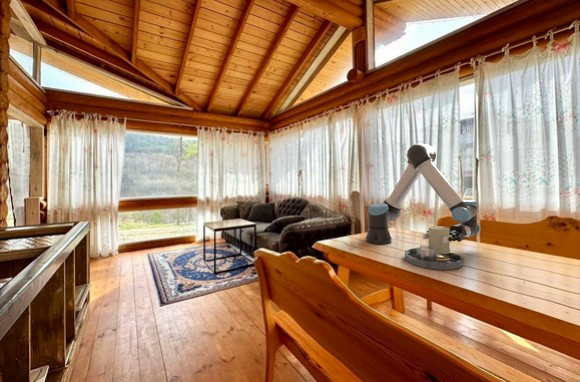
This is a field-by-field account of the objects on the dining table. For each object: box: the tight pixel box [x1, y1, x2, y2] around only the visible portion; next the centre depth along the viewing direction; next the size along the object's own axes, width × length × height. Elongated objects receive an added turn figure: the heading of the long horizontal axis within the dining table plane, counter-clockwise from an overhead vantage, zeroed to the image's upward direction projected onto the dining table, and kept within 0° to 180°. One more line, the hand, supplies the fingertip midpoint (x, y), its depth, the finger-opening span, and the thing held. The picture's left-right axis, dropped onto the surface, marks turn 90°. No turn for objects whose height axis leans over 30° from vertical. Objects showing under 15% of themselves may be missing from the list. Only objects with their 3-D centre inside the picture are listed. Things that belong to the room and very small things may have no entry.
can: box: [427, 225, 451, 254], centre depth 125 cm, size 9×9×12 cm
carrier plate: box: [404, 245, 465, 271], centre depth 123 cm, size 24×24×7 cm
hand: (433, 238), depth 123 cm, fingers closed on can, 9 cm apart
